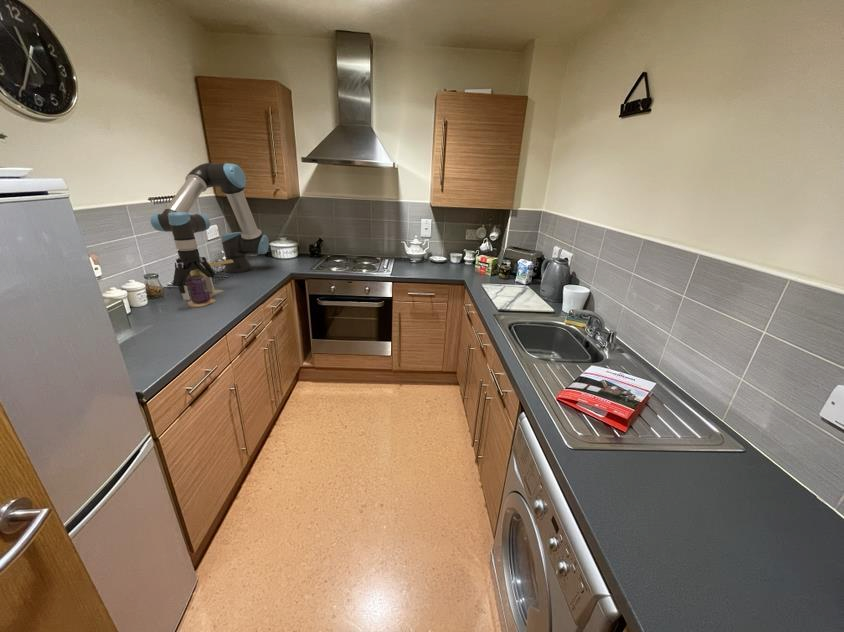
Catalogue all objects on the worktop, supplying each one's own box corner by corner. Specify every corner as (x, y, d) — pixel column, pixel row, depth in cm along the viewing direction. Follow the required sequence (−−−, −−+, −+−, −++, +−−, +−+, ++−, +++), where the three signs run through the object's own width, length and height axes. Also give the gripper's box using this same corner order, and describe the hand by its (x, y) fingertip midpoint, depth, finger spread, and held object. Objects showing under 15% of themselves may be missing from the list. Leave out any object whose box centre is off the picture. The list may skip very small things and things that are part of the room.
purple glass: (207, 297, 155) (201, 273, 150) (213, 301, 151) (206, 276, 146) (190, 301, 150) (183, 276, 145) (195, 305, 146) (188, 280, 141)
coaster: (202, 298, 157) (201, 296, 156) (221, 300, 155) (220, 298, 154) (181, 306, 147) (181, 304, 147) (201, 308, 145) (201, 306, 144)
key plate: (205, 290, 168) (204, 287, 167) (224, 292, 166) (224, 289, 165) (184, 297, 157) (184, 294, 157) (205, 299, 155) (204, 297, 154)
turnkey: (195, 293, 159) (188, 266, 154) (236, 284, 173) (230, 259, 168) (198, 294, 157) (190, 267, 152) (238, 285, 172) (233, 260, 167)
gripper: (203, 243, 153) (214, 286, 161) (152, 254, 130) (168, 303, 139) (217, 244, 151) (227, 287, 160) (167, 255, 129) (182, 304, 137)
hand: (199, 294), depth 149 cm, fingers open, 13 cm apart
